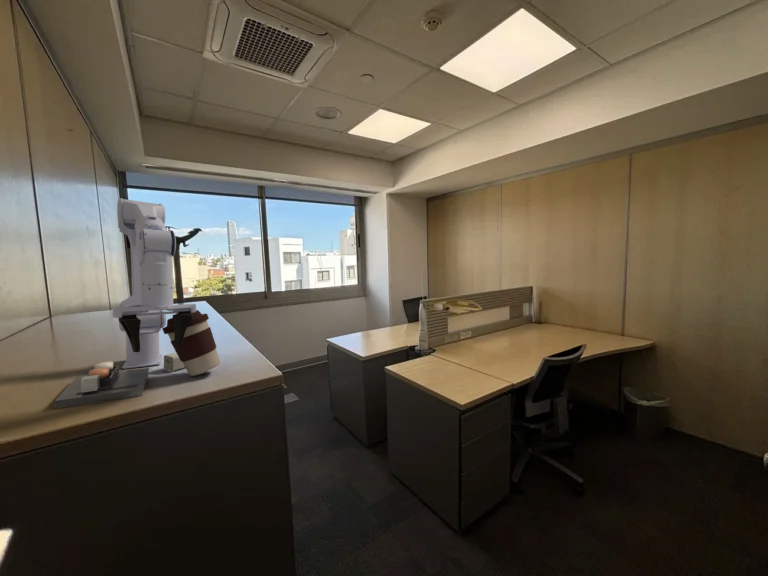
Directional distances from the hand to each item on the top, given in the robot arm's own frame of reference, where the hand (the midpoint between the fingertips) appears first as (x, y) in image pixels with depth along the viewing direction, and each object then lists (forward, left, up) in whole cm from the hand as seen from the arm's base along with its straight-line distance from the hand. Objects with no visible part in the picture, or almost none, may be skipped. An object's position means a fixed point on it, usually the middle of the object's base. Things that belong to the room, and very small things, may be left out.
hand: (158, 348), depth 67 cm
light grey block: (-2, -11, -8) cm, 14 cm away
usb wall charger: (-17, +4, -10) cm, 20 cm away
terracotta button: (-7, -11, -7) cm, 14 cm away
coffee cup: (-8, +9, -9) cm, 15 cm away
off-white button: (-12, -11, -7) cm, 17 cm away
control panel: (-7, -9, -10) cm, 15 cm away
